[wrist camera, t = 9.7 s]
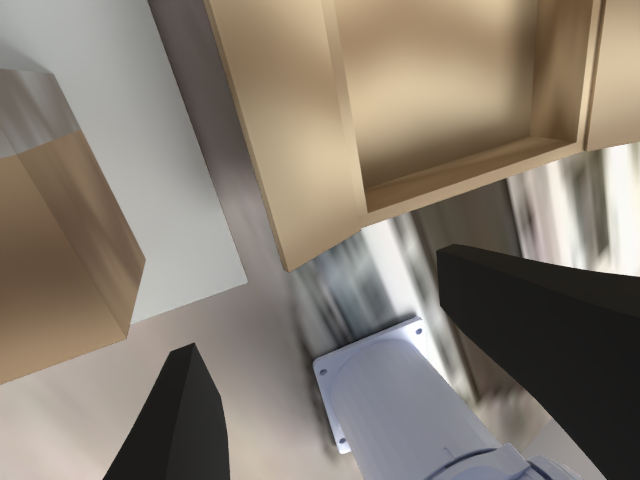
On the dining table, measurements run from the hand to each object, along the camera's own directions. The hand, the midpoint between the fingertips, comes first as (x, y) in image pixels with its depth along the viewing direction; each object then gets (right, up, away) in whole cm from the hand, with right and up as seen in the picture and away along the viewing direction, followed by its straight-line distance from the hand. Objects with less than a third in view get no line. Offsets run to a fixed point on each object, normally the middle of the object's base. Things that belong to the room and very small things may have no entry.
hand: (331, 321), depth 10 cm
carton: (+5, +12, +8) cm, 15 cm away
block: (-11, +4, +4) cm, 13 cm away
